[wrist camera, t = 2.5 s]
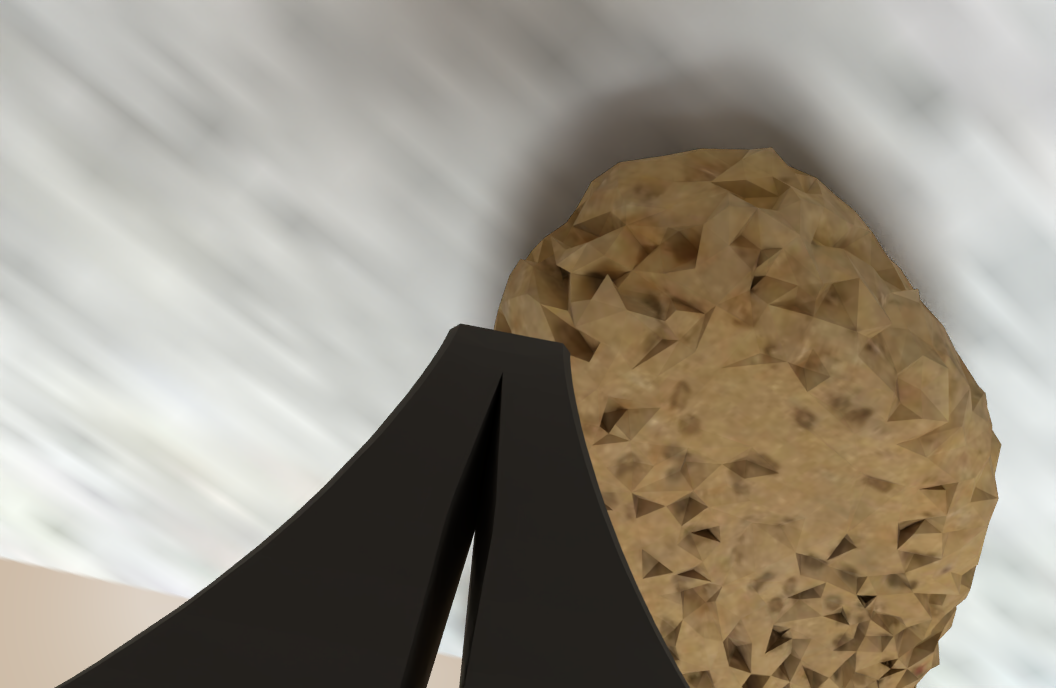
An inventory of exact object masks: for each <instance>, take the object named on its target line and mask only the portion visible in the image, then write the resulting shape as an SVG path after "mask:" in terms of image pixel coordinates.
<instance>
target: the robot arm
mask: <svg viewBox="0 0 1056 688" xmlns="http://www.w3.org/2000/svg"><path fill="white" fill-rule="evenodd" d="M474 532H475V535H474ZM473 535H474V545H473V555H472V565H471V575H470V585H469V595H468V605H467V615H466V625H465V635H464V645H463V655H462V665H461V676H460V686H459V688H690V687H689V685H688V683H687V682H686V680H685V678H684V677H683V675H682V673H681V671H680V670H679V668H678V666H677V664H676V662H675V660H674V658H673V656H672V655H671V653H670V651H669V649H668V647H667V645H666V643H665V641H664V639H663V637H662V635H661V633H660V631H659V630H658V628H657V626H656V624H655V622H654V620H653V618H652V615H651V613H650V611H649V609H648V607H647V605H646V603H645V601H644V599H643V596H642V594H641V592H640V590H639V588H638V586H637V584H636V581H635V579H634V577H633V574H632V572H631V570H630V568H629V565H628V563H627V560H626V558H625V556H624V553H623V551H622V548H621V546H620V543H619V541H618V538H617V535H616V533H615V530H614V528H613V525H612V522H611V520H610V517H609V514H608V512H607V509H606V506H605V503H604V500H603V497H602V494H601V491H600V489H599V485H598V482H597V479H596V475H595V472H594V469H593V465H592V462H591V459H590V456H589V452H588V449H587V446H586V442H585V438H584V434H583V430H582V426H581V422H580V417H579V413H578V408H577V404H576V399H575V393H574V388H573V381H572V373H571V362H570V352H569V350H568V349H567V348H566V346H565V345H564V344H563V343H560V342H554V341H549V340H544V339H539V338H533V337H528V336H523V335H518V334H512V333H507V332H502V331H497V330H491V329H486V328H481V327H476V326H470V325H465V324H459V325H457V326H456V327H454V328H452V329H450V331H449V333H448V334H447V336H446V338H445V340H444V342H443V344H442V345H441V347H440V348H439V350H438V352H437V353H436V355H435V356H434V358H433V359H432V361H431V362H430V364H429V365H428V367H427V368H426V369H425V371H424V372H423V374H422V375H421V376H420V378H419V379H418V380H417V382H416V383H415V384H414V386H413V387H412V388H411V390H410V391H409V392H408V394H407V395H406V396H405V397H404V398H403V400H402V401H401V402H400V403H399V404H398V406H397V407H396V408H395V409H394V410H393V412H392V413H391V414H390V415H389V416H388V418H387V419H386V420H385V421H384V422H383V424H382V425H381V426H380V427H379V428H378V430H377V431H376V432H375V433H374V434H373V435H372V437H371V438H370V439H369V440H368V441H367V442H366V443H365V444H364V445H363V446H362V447H361V448H360V449H359V451H358V452H357V453H356V454H355V455H354V456H353V457H352V458H351V459H350V460H349V461H348V462H347V463H346V464H345V465H344V466H343V467H342V468H341V469H340V470H339V471H338V472H337V473H336V475H335V476H334V477H333V478H332V479H331V480H330V481H329V482H328V483H327V484H326V485H325V486H324V487H323V488H322V489H321V490H320V491H319V492H318V493H317V494H316V495H314V496H313V497H312V498H311V499H310V500H309V501H308V502H307V503H306V504H305V505H304V506H303V507H302V508H301V509H300V510H299V511H297V512H296V513H295V514H294V515H293V516H292V517H291V518H290V519H289V520H287V521H286V522H285V523H284V524H283V525H282V526H281V527H279V528H278V529H277V530H276V531H275V532H274V533H273V534H271V535H270V536H269V537H268V538H267V539H266V540H265V541H263V542H262V543H261V544H260V545H259V546H257V547H256V548H255V549H254V550H252V551H251V552H250V553H249V554H247V555H246V556H245V557H244V558H242V559H241V560H240V561H239V562H237V563H236V564H235V565H233V566H232V567H231V568H230V569H228V570H227V571H226V572H225V573H223V574H222V575H221V576H220V577H218V578H217V579H216V580H215V581H213V582H212V583H211V584H209V585H208V586H207V587H205V588H204V589H203V590H201V591H200V592H199V593H197V594H196V595H195V596H193V597H192V598H191V599H189V600H188V601H187V602H185V603H184V604H182V605H181V606H180V607H179V608H177V609H175V610H174V611H172V612H171V613H169V614H168V615H166V616H165V617H164V618H162V619H160V620H159V621H158V622H156V623H155V624H153V625H152V626H150V627H149V628H147V629H146V630H144V631H143V632H141V633H140V634H138V635H137V636H135V637H134V638H132V639H131V640H129V641H128V642H126V643H125V644H123V645H122V646H120V647H119V648H117V649H116V650H114V651H113V652H111V653H110V654H108V655H107V656H105V657H104V658H102V659H101V660H100V661H98V662H97V663H95V664H93V665H92V666H90V667H89V668H87V669H85V670H83V671H82V672H80V673H79V674H77V675H76V676H74V677H72V678H71V679H69V680H67V681H65V682H64V683H62V684H60V685H58V686H57V687H55V688H426V687H427V684H428V681H429V677H430V674H431V671H432V668H433V664H434V661H435V658H436V655H437V652H438V648H439V645H440V642H441V639H442V635H443V632H444V629H445V626H446V623H447V619H448V616H449V613H450V610H451V606H452V603H453V600H454V597H455V594H456V590H457V587H458V584H459V581H460V577H461V574H462V571H463V568H464V564H465V561H466V558H467V555H468V551H469V548H470V545H471V542H472V538H473Z"/></svg>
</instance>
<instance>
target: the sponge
mask: <svg viewBox="0 0 1056 688" xmlns="http://www.w3.org/2000/svg"><path fill="white" fill-rule="evenodd" d="M494 330H497V331H502V332H507V333H512V334H518V335H523V336H528V337H533V338H539V339H544V340H549V341H554V342H560V343H563V344H564V345H565V346H566V348H567V349H568V350H569V352H570V362H571V373H572V381H573V388H574V393H575V399H576V404H577V408H578V413H579V417H580V422H581V426H582V430H583V434H584V438H585V442H586V446H587V449H588V452H589V456H590V459H591V462H592V465H593V469H594V472H595V475H596V479H597V482H598V485H599V489H600V491H601V494H602V497H603V500H604V503H605V506H606V509H607V512H608V514H609V517H610V520H611V522H612V525H613V528H614V530H615V533H616V535H617V538H618V541H619V543H620V546H621V548H622V551H623V553H624V556H625V558H626V560H627V563H628V565H629V568H630V570H631V572H632V574H633V577H634V579H635V581H636V584H637V586H638V588H639V590H640V592H641V594H642V596H643V599H644V601H645V603H646V605H647V607H648V609H649V611H650V613H651V615H652V618H653V620H654V622H655V624H656V626H657V628H658V630H659V631H660V633H661V635H662V637H663V639H664V641H665V643H666V645H667V647H668V649H669V651H670V653H671V655H672V656H673V658H674V660H675V662H676V664H677V666H678V668H679V670H680V671H681V673H682V675H683V677H684V678H685V680H686V682H687V683H688V685H689V687H690V688H916V685H917V683H918V682H919V681H920V680H921V679H922V678H923V676H924V675H925V674H926V673H927V672H928V671H929V670H930V669H932V668H934V667H936V666H938V665H939V647H938V641H939V639H940V638H941V637H942V636H943V635H944V634H945V633H946V632H947V631H948V630H949V629H950V628H951V626H952V623H953V619H954V616H955V612H956V606H957V605H958V604H959V603H961V602H962V601H963V600H964V599H965V598H966V597H967V595H968V593H969V591H970V588H971V584H972V580H973V576H974V572H975V568H976V565H978V562H979V558H980V554H981V550H982V546H983V543H984V539H985V535H986V532H987V528H988V525H989V521H990V519H991V516H992V514H993V511H994V509H995V506H996V504H997V501H998V493H997V487H996V481H995V471H996V467H997V462H998V457H999V453H1000V448H1001V443H1000V442H999V440H998V438H997V437H996V435H995V434H994V432H993V430H992V422H991V419H990V415H989V412H988V408H987V399H986V394H985V392H984V391H983V390H982V389H981V388H980V387H979V386H978V385H977V383H976V381H975V380H974V378H973V377H972V375H971V374H970V372H969V370H968V369H967V367H966V366H965V364H964V363H963V361H962V359H961V358H960V356H959V355H958V353H957V352H956V350H955V348H954V346H953V344H952V342H951V340H950V338H949V336H948V334H947V332H946V330H945V328H944V326H943V325H942V324H941V323H940V322H939V321H938V319H937V318H936V317H935V316H934V315H933V314H932V313H931V312H930V311H929V310H928V309H927V307H926V306H925V305H924V304H923V303H922V302H921V300H920V296H919V290H918V289H913V288H912V286H911V285H910V283H909V281H908V280H907V278H906V277H905V275H904V274H903V272H902V270H901V269H900V268H899V267H898V266H897V265H896V264H895V263H894V262H892V261H891V260H890V259H889V258H888V256H887V255H886V253H885V252H884V250H883V249H882V247H881V245H880V244H879V242H878V241H877V239H876V238H875V236H874V235H873V233H872V231H871V230H870V229H869V228H868V226H867V225H866V224H865V223H864V222H863V220H862V219H861V218H860V217H859V215H858V214H857V213H856V212H855V211H854V210H853V209H852V208H851V207H849V206H848V205H847V204H846V203H844V202H843V201H842V200H841V199H839V198H838V197H837V196H836V195H835V194H833V193H832V192H831V191H830V190H829V189H828V188H827V187H826V186H825V185H824V184H823V183H822V182H821V181H819V180H818V179H817V178H816V177H813V176H811V175H809V174H806V173H804V172H802V171H799V170H797V169H794V168H792V167H790V166H788V165H787V164H786V163H785V162H784V161H783V160H782V159H781V157H780V156H779V155H778V154H777V153H776V152H775V151H774V149H773V148H772V147H769V148H760V149H751V150H746V149H696V150H691V151H686V152H681V153H676V154H670V155H665V156H658V157H652V158H645V159H638V160H631V161H624V162H619V163H617V164H616V165H614V166H613V167H612V168H610V169H609V170H607V171H606V172H604V173H603V174H602V175H600V176H599V177H597V178H596V179H594V180H593V181H592V182H591V183H590V185H589V187H588V189H587V191H586V192H585V194H584V196H583V198H582V200H581V201H580V203H579V205H578V207H577V208H576V210H575V211H574V213H573V214H572V216H571V217H570V218H569V220H568V221H567V223H565V224H564V225H562V226H561V227H560V228H558V229H557V230H555V231H554V232H552V233H551V234H549V235H548V236H546V237H545V238H544V239H543V240H542V241H541V242H540V243H539V244H538V245H537V246H536V247H535V248H534V249H533V250H532V251H531V253H530V254H529V256H528V257H527V259H526V260H523V259H520V261H519V262H518V264H517V265H516V267H515V268H514V270H513V271H512V273H511V274H510V276H509V279H508V282H507V285H506V288H505V291H504V294H503V297H502V300H501V303H500V306H499V309H498V313H497V317H496V321H495V326H494Z"/></svg>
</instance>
